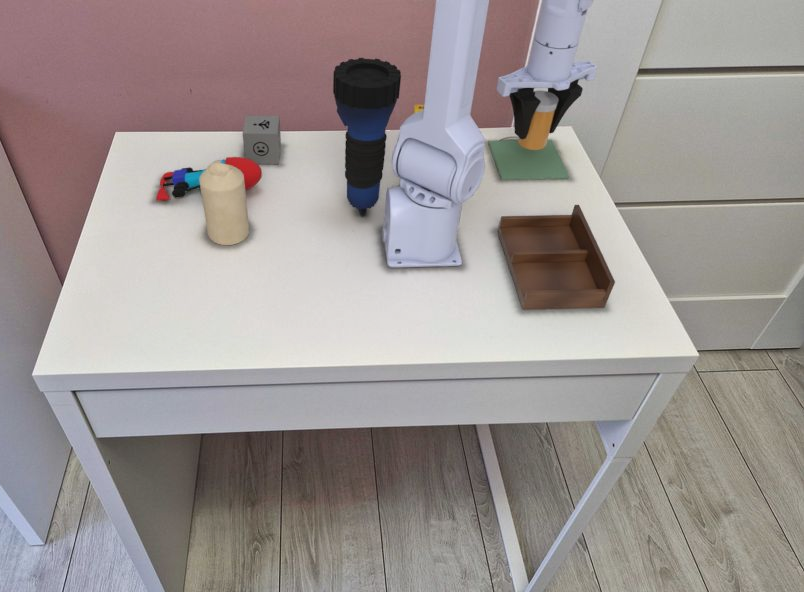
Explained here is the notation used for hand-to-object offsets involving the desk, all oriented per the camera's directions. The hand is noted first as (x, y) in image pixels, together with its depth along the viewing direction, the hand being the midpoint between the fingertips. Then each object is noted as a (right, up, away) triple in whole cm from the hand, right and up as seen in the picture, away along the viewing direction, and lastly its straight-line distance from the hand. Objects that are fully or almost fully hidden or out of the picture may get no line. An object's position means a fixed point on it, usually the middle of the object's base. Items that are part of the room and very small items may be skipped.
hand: (533, 132), depth 101 cm
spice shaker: (0, -1, +1) cm, 2 cm away
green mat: (0, -3, +3) cm, 5 cm away
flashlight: (-25, -13, -6) cm, 29 cm away
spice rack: (-2, -21, -13) cm, 25 cm away
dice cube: (-40, -2, +4) cm, 40 cm away
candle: (-43, -16, -9) cm, 47 cm away
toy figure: (-47, -9, -2) cm, 48 cm away
